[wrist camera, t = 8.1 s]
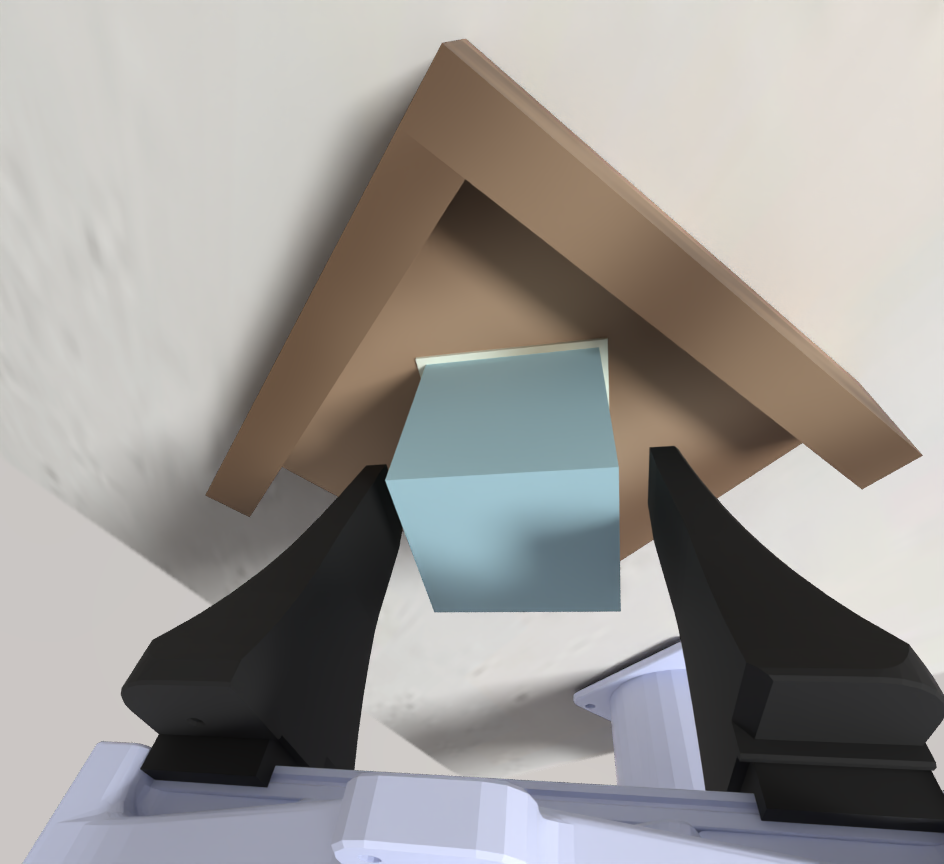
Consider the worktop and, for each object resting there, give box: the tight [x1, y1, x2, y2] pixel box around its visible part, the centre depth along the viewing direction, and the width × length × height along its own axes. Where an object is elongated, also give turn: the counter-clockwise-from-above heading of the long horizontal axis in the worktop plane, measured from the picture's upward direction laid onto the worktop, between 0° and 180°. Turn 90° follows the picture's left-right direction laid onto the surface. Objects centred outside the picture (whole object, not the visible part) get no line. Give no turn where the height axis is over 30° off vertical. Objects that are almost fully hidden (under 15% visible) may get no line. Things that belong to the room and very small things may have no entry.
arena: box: [206, 39, 923, 561], centre depth 16 cm, size 14×14×3 cm
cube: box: [385, 347, 621, 612], centre depth 14 cm, size 5×5×5 cm
